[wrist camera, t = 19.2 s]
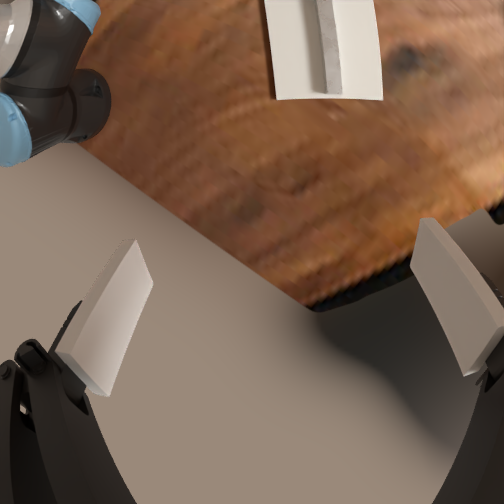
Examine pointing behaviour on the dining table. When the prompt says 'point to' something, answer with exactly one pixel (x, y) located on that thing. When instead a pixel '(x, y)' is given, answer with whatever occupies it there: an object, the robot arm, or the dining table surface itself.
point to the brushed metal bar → (329, 47)
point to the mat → (309, 52)
